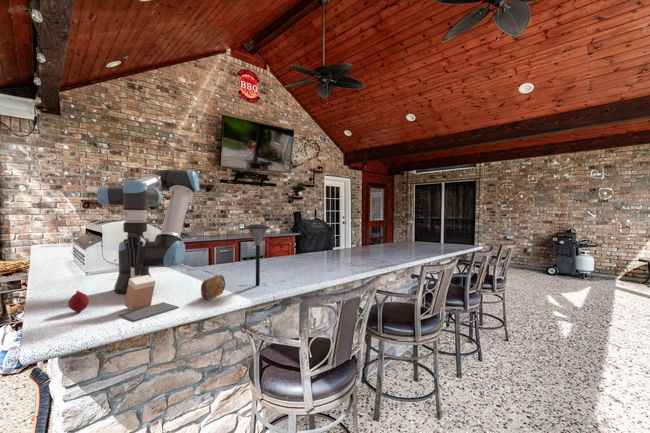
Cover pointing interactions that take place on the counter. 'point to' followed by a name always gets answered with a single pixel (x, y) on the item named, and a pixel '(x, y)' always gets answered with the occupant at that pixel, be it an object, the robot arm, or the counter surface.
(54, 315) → the counter surface
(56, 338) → the counter surface
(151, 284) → the terracotta block
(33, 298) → the counter surface
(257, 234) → the solar garden light
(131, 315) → the mat
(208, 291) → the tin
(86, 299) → the onion
